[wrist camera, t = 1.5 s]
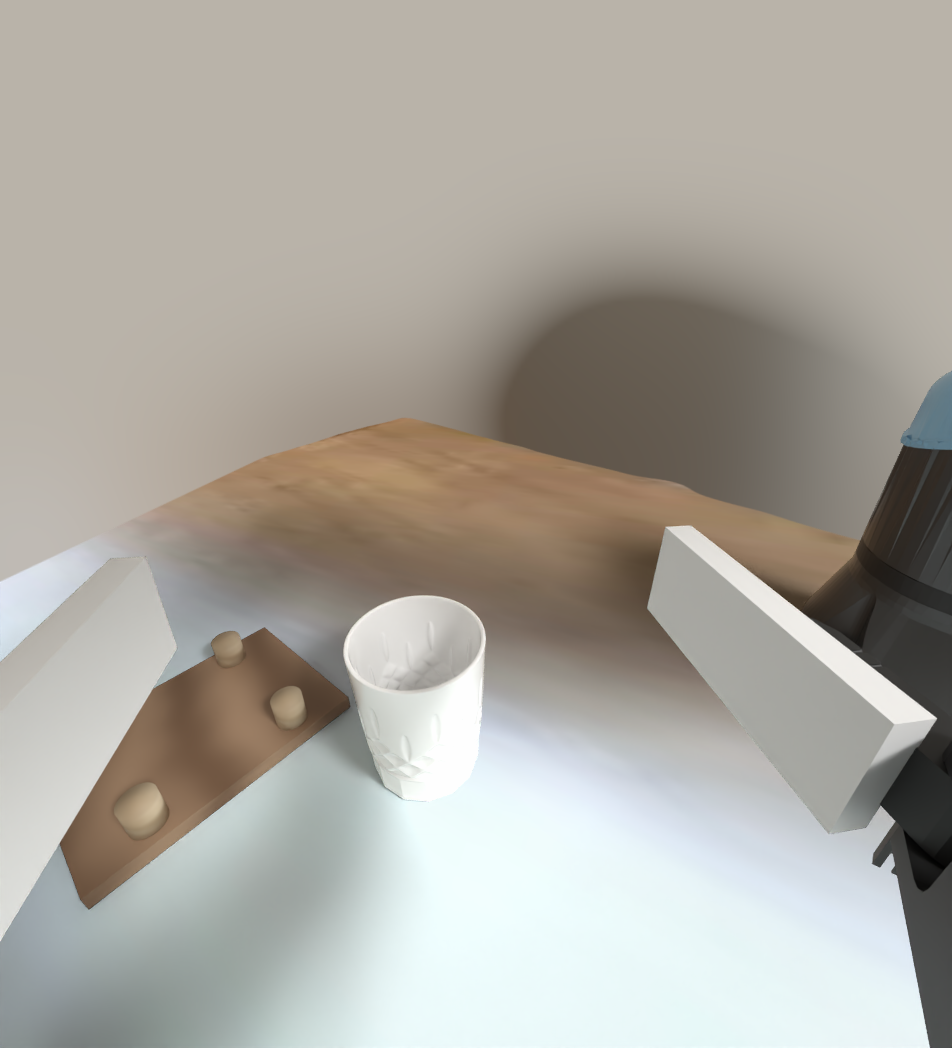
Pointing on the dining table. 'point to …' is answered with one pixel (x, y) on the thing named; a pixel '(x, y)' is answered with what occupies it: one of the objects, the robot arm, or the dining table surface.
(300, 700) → the holder
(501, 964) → the dining table surface
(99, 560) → the dining table surface
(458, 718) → the white cup
